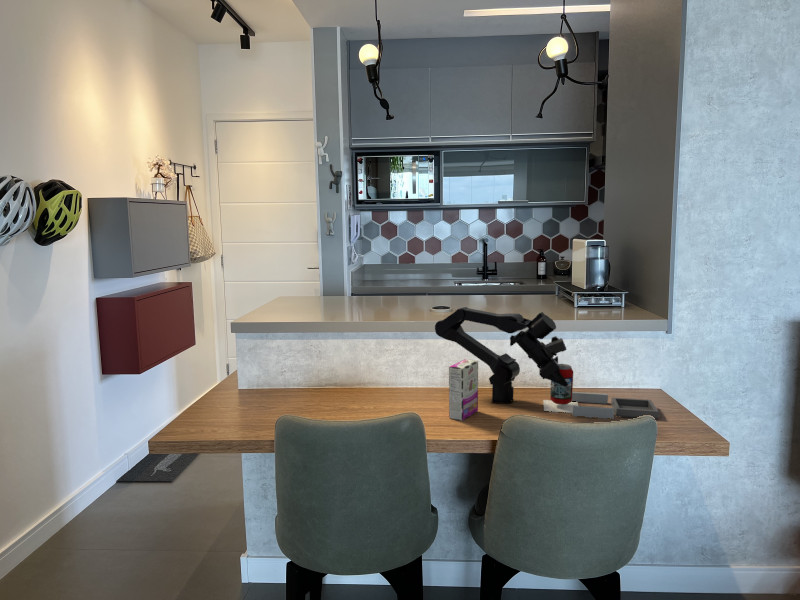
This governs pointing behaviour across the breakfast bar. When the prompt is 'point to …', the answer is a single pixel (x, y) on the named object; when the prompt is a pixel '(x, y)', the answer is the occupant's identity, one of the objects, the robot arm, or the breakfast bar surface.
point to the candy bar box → (463, 389)
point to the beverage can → (563, 387)
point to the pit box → (633, 407)
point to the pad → (559, 406)
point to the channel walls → (592, 411)
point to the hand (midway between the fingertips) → (566, 382)
